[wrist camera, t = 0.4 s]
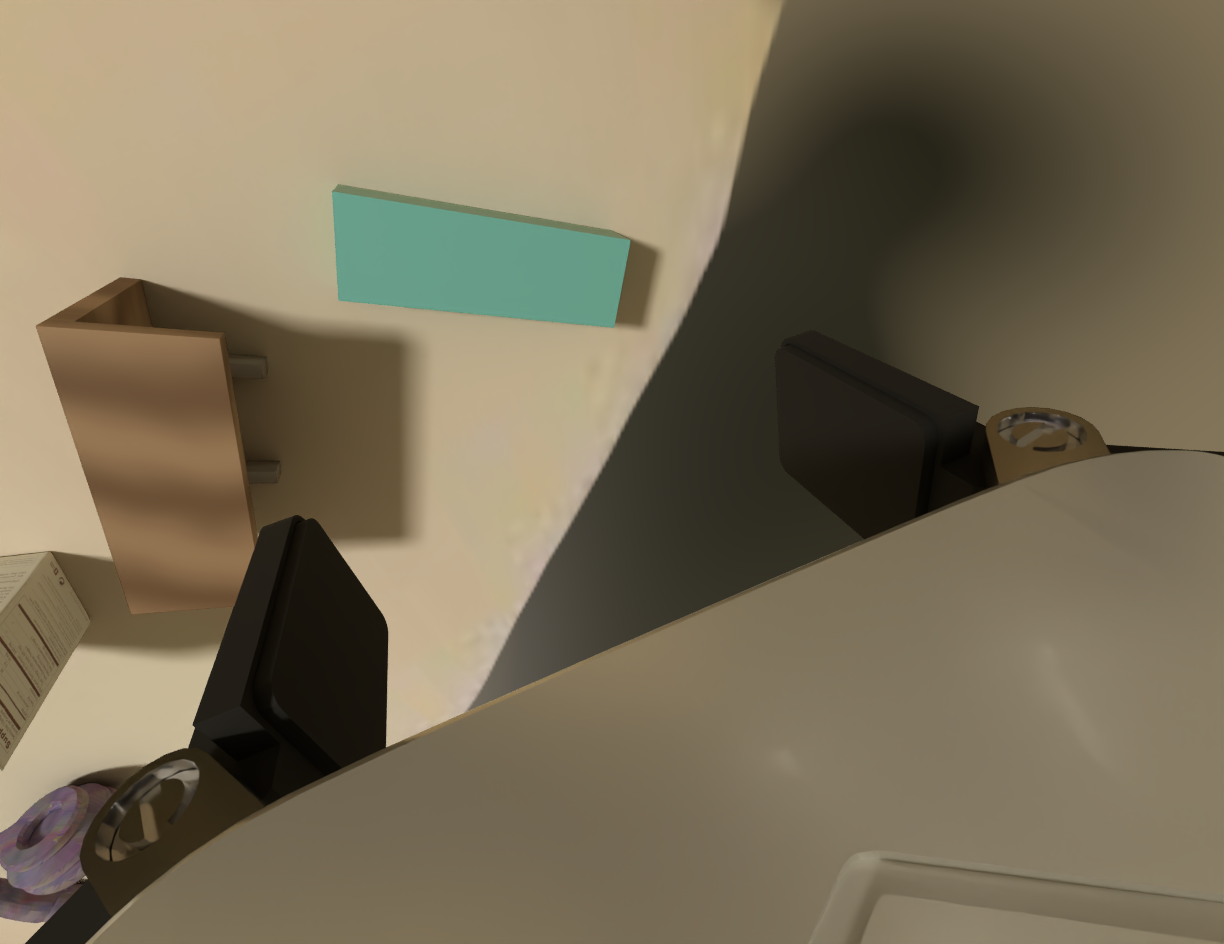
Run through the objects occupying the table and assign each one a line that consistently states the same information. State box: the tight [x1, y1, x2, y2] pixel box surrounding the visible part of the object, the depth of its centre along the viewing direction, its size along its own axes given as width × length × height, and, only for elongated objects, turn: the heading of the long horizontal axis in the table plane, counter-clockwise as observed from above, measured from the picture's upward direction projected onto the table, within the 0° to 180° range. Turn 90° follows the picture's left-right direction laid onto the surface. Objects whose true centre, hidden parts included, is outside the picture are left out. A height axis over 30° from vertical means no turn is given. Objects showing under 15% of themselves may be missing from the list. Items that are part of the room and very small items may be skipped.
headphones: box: [0, 783, 117, 923], centre depth 53 cm, size 18×8×20 cm
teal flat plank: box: [332, 184, 631, 328], centre depth 36 cm, size 6×18×4 cm, turn 79°
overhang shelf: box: [36, 277, 281, 614], centre depth 34 cm, size 18×7×10 cm, turn 169°
